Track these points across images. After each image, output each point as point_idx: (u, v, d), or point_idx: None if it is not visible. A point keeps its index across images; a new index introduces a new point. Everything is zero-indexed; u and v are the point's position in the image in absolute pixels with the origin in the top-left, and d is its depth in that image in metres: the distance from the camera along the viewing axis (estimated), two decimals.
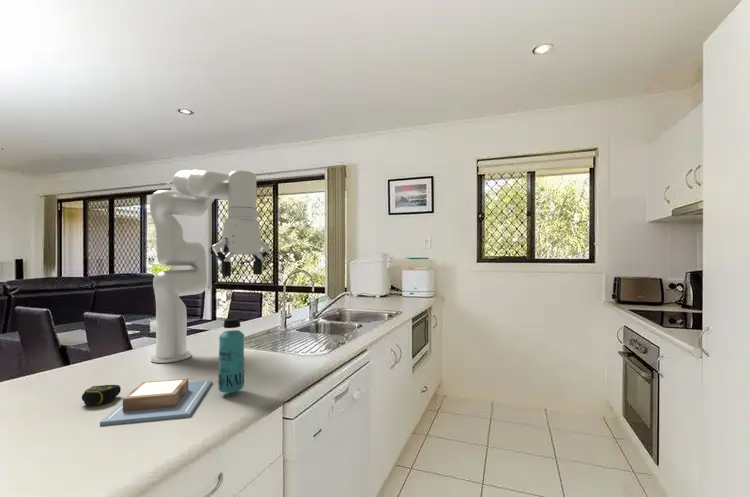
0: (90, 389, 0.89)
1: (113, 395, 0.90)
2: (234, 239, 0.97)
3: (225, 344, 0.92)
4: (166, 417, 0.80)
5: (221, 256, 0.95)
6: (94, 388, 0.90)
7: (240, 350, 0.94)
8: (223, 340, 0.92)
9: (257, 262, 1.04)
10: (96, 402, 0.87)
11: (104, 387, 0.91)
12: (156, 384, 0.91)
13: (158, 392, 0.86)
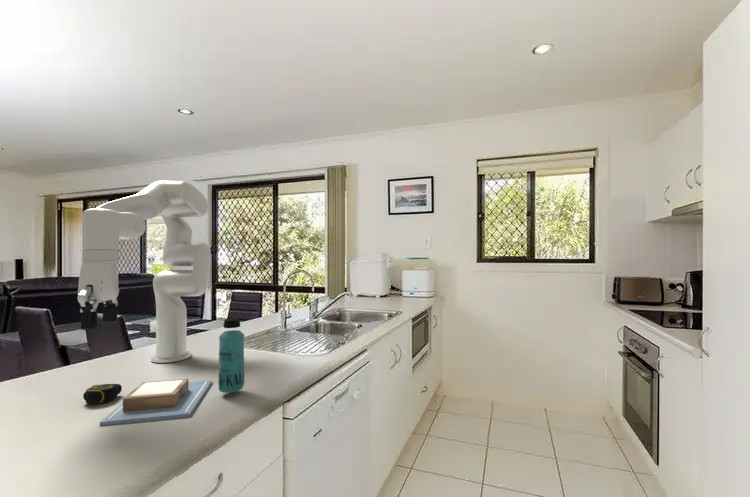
0: (91, 388, 0.90)
1: (114, 394, 0.91)
2: (102, 286, 0.88)
3: (225, 344, 0.92)
4: (166, 417, 0.80)
5: (88, 306, 0.84)
6: (95, 387, 0.91)
7: (240, 350, 0.94)
8: (223, 340, 0.92)
9: (111, 308, 0.95)
10: (97, 401, 0.88)
11: (105, 386, 0.91)
12: (156, 384, 0.91)
13: (158, 392, 0.86)
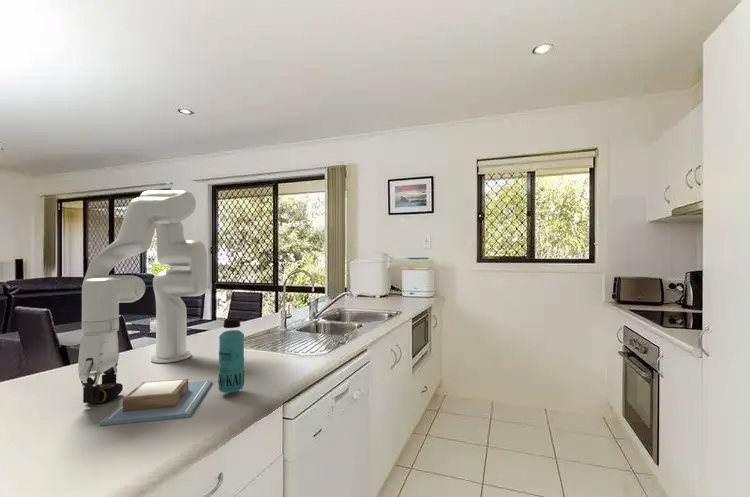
0: None
1: (116, 393, 0.91)
2: (102, 357, 0.88)
3: (225, 344, 0.92)
4: (166, 417, 0.80)
5: (90, 382, 0.85)
6: None
7: (240, 350, 0.94)
8: (223, 340, 0.92)
9: (110, 376, 0.94)
10: (99, 400, 0.88)
11: (107, 385, 0.92)
12: (156, 384, 0.91)
13: (158, 392, 0.86)
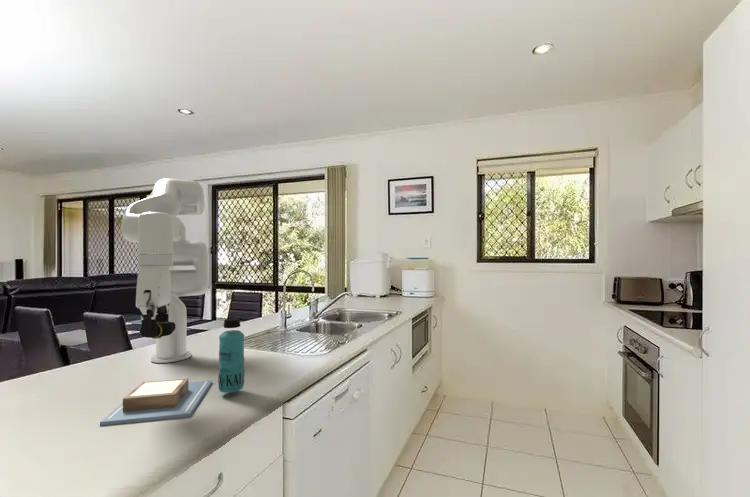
0: None
1: (171, 330, 0.89)
2: (159, 291, 0.86)
3: (225, 344, 0.92)
4: (166, 417, 0.80)
5: (149, 314, 0.84)
6: None
7: (240, 350, 0.94)
8: (223, 340, 0.92)
9: (163, 316, 0.93)
10: None
11: (161, 322, 0.90)
12: (156, 384, 0.91)
13: (158, 392, 0.86)
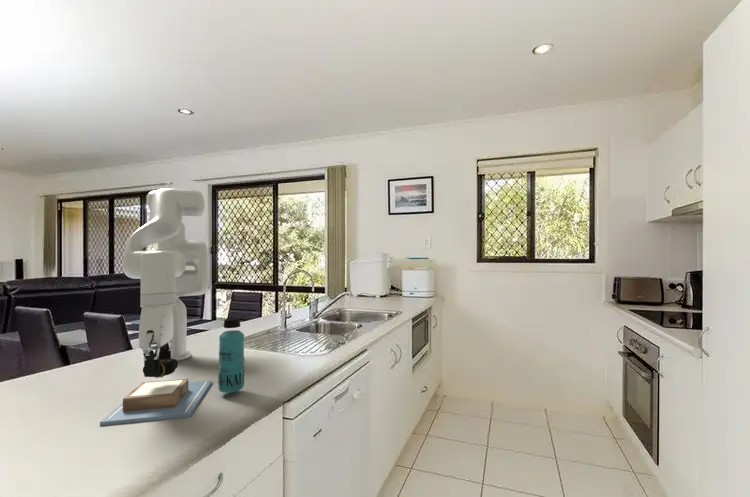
0: None
1: (173, 368, 0.89)
2: (162, 330, 0.86)
3: (225, 344, 0.92)
4: (166, 417, 0.80)
5: (152, 355, 0.84)
6: None
7: (240, 350, 0.94)
8: (223, 340, 0.92)
9: (165, 353, 0.92)
10: None
11: (163, 360, 0.90)
12: (156, 384, 0.91)
13: (158, 392, 0.86)
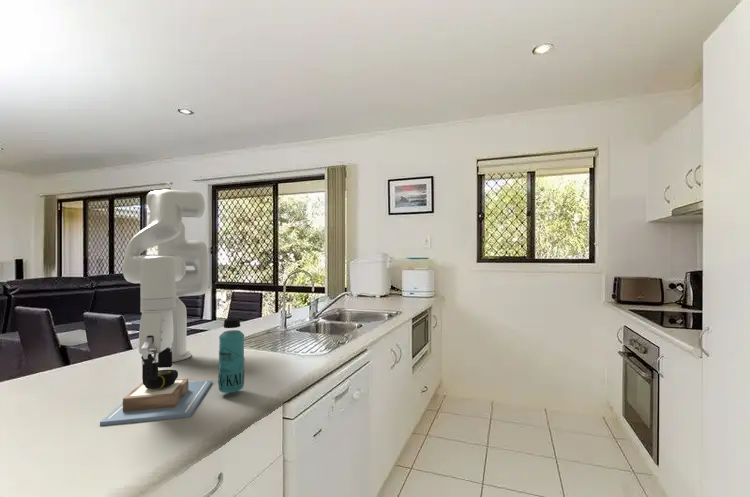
0: None
1: (173, 379, 0.89)
2: (162, 335, 0.86)
3: (225, 344, 0.92)
4: (166, 417, 0.80)
5: (150, 359, 0.83)
6: None
7: (240, 350, 0.94)
8: (223, 340, 0.92)
9: (167, 353, 0.93)
10: (158, 386, 0.86)
11: (163, 372, 0.90)
12: None
13: (158, 392, 0.86)
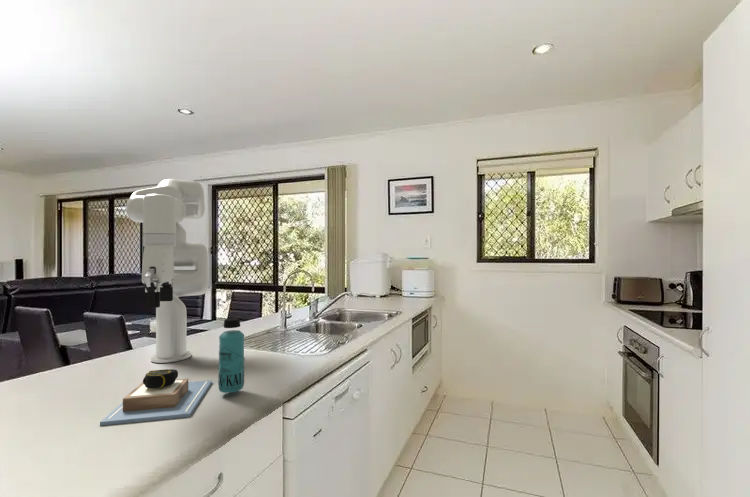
0: (150, 373, 0.89)
1: (173, 379, 0.90)
2: (163, 268, 0.93)
3: (225, 344, 0.92)
4: (166, 417, 0.80)
5: (153, 287, 0.89)
6: (154, 372, 0.90)
7: (240, 350, 0.94)
8: (223, 340, 0.92)
9: (168, 288, 1.00)
10: (159, 385, 0.87)
11: (163, 371, 0.90)
12: None
13: (158, 392, 0.86)
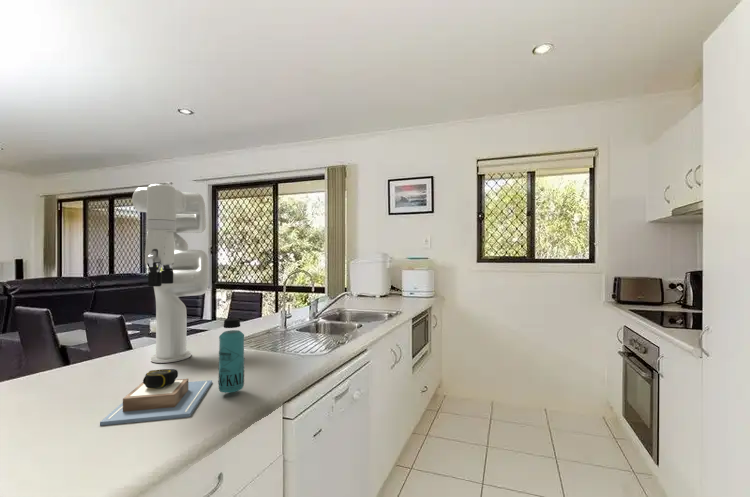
0: (150, 373, 0.89)
1: (173, 378, 0.90)
2: (165, 250, 1.02)
3: (225, 344, 0.92)
4: (166, 417, 0.80)
5: (155, 267, 0.98)
6: (154, 372, 0.90)
7: (240, 350, 0.94)
8: (223, 340, 0.92)
9: (169, 272, 1.09)
10: (159, 385, 0.87)
11: (163, 371, 0.91)
12: None
13: (158, 392, 0.86)
